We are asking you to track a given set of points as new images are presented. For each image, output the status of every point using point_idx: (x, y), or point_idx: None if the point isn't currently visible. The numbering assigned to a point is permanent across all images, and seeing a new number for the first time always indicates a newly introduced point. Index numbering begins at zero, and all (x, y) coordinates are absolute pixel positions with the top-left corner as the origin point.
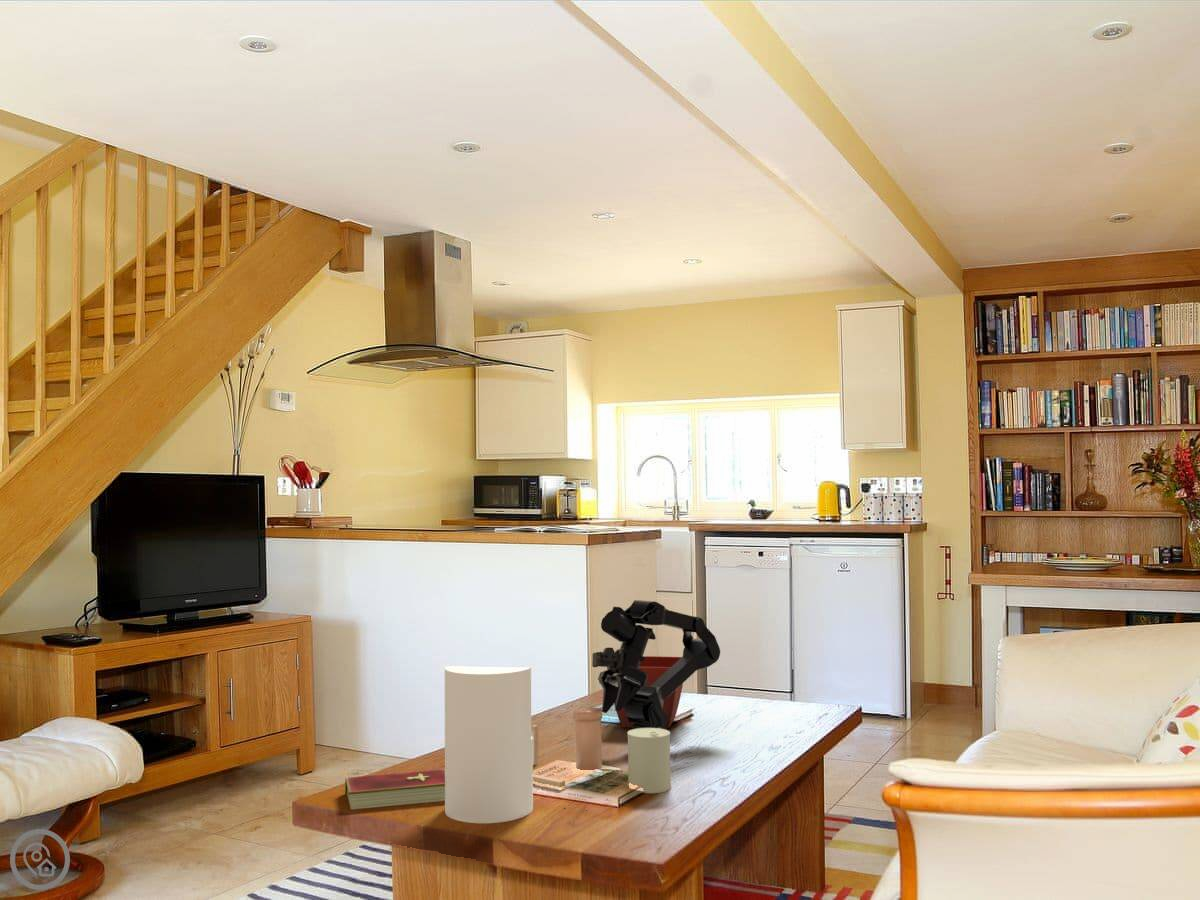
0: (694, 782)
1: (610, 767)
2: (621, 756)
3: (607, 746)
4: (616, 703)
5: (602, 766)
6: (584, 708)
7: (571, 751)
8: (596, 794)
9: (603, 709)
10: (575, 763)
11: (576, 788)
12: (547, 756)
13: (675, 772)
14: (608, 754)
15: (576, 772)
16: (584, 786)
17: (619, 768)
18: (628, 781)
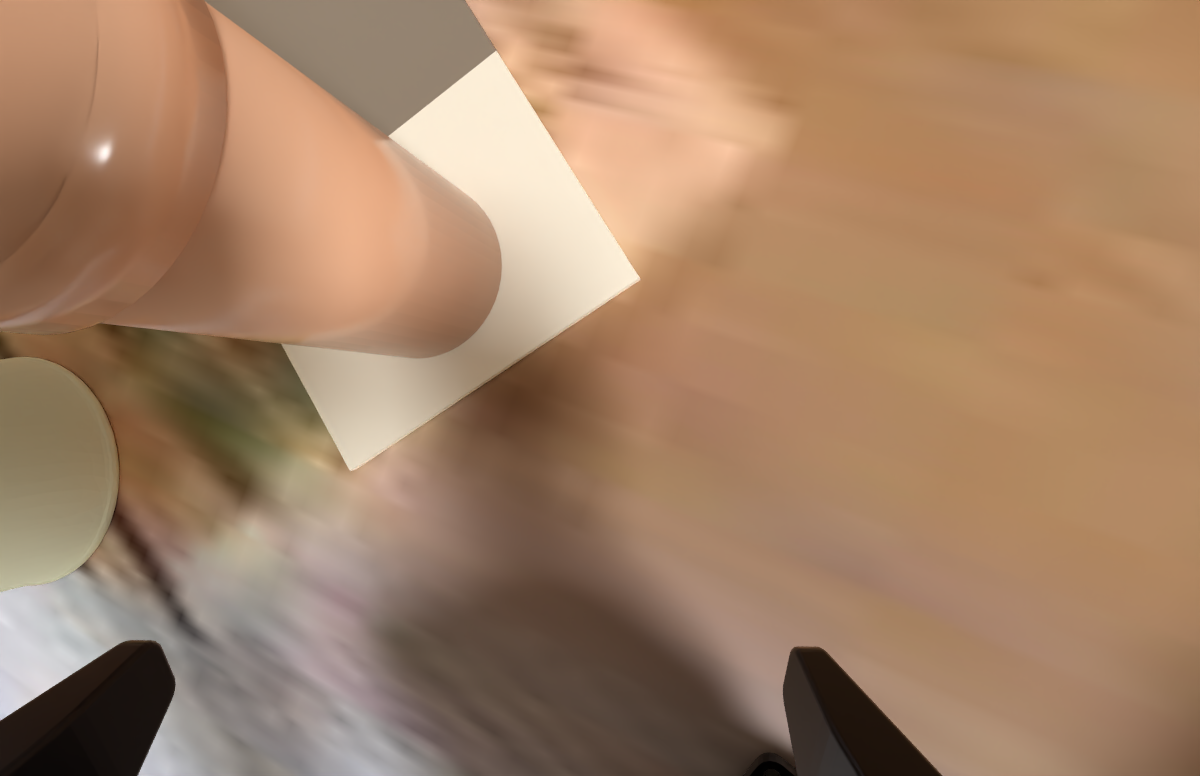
0: None
1: (401, 415)
2: (685, 622)
3: (1066, 667)
4: (29, 718)
5: (443, 375)
6: (59, 59)
7: (1010, 312)
8: None
9: (805, 680)
10: (580, 222)
11: None
12: (917, 78)
13: (211, 742)
14: (783, 558)
15: None
16: None
17: (361, 460)
18: (9, 362)
